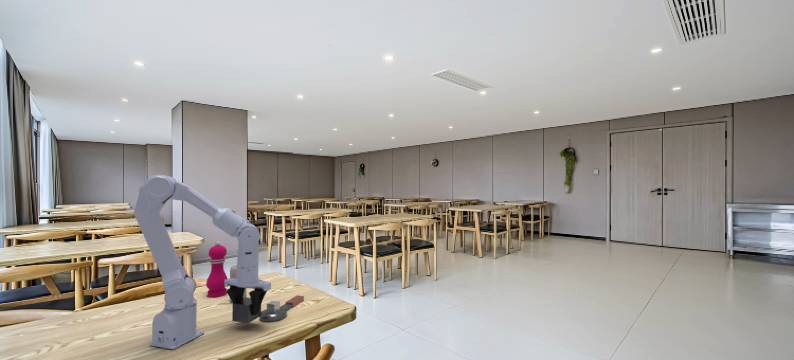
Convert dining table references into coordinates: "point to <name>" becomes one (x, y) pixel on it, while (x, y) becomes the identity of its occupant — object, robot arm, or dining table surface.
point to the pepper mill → (217, 271)
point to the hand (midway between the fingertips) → (247, 312)
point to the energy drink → (234, 275)
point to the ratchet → (279, 309)
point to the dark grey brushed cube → (244, 311)
